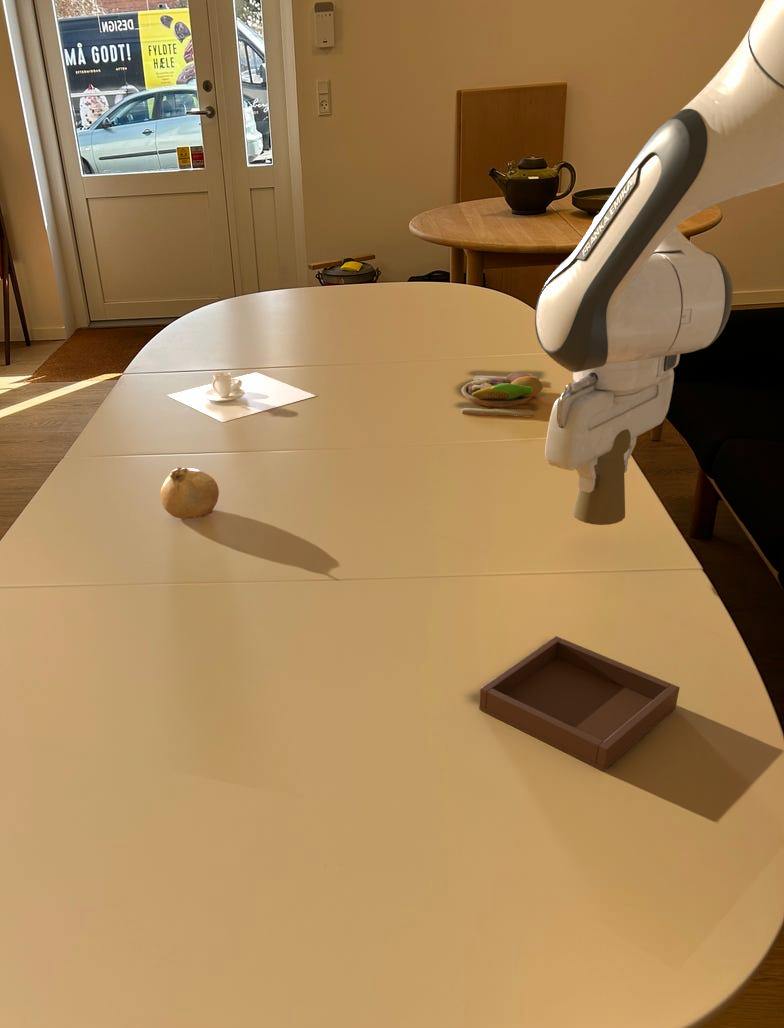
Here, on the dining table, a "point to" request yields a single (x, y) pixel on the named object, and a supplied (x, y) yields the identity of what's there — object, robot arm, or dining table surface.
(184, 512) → the onion
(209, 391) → the teacup and saucer
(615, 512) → the chess pawn figurine
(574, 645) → the tray
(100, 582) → the dining table surface
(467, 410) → the toy food set
